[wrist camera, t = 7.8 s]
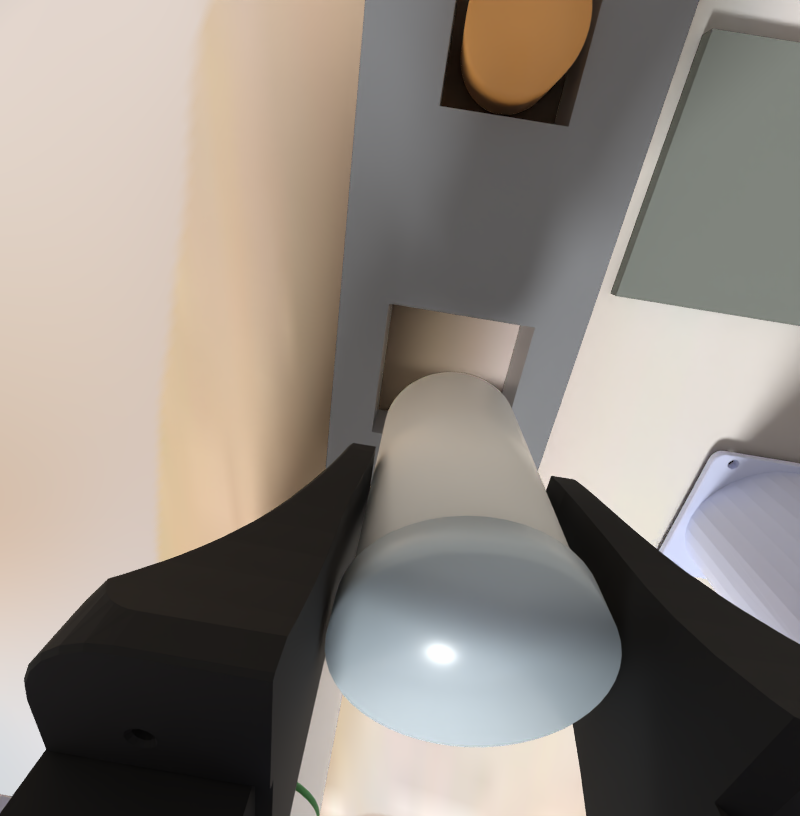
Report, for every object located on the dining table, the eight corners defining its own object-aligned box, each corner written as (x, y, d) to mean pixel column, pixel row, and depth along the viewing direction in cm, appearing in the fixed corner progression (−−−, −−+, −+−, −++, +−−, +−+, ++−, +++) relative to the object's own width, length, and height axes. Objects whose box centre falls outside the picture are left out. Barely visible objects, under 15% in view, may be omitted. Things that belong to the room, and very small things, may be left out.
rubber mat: (957, 76, 15) (977, 70, 14) (812, 326, 19) (824, 329, 18) (702, 35, 15) (713, 28, 14) (610, 293, 19) (615, 295, 18)
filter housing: (691, -69, 14) (742, -125, 12) (515, 481, 23) (523, 511, 21) (389, -117, 14) (380, -182, 12) (335, 451, 23) (324, 477, 21)
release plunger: (577, -4, 14) (611, -55, 12) (546, 122, 16) (569, 103, 13) (472, -21, 14) (481, -75, 12) (451, 106, 16) (454, 84, 13)
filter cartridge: (536, 373, 13) (666, 572, 6) (507, 498, 15) (578, 760, 8) (382, 358, 13) (324, 535, 6) (374, 485, 15) (324, 731, 8)
